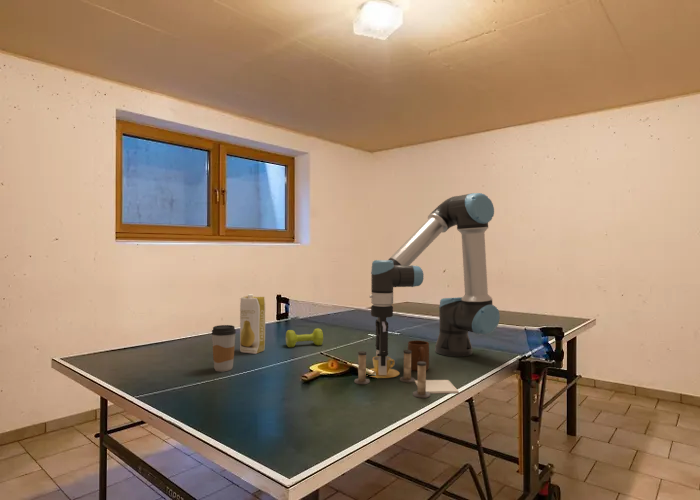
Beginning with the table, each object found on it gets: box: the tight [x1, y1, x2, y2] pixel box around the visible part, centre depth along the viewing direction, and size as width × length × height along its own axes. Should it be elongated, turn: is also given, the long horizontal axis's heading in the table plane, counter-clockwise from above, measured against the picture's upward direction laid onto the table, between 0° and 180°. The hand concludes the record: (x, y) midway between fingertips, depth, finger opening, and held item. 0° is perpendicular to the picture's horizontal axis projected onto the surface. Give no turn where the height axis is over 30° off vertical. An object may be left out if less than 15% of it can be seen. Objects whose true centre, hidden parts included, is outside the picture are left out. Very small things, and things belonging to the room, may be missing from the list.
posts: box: [354, 349, 431, 399], centre depth 132 cm, size 22×20×10 cm
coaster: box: [414, 379, 459, 394], centre depth 133 cm, size 11×11×1 cm
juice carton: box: [239, 293, 266, 355], centre depth 178 cm, size 9×8×24 cm
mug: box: [407, 340, 430, 372], centre depth 152 cm, size 12×8×9 cm, turn 2°
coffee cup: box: [211, 324, 237, 373], centre depth 151 cm, size 8×8×15 cm
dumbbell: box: [285, 327, 324, 348], centre depth 190 cm, size 16×8×7 cm, turn 109°
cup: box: [369, 355, 401, 379], centre depth 147 cm, size 12×12×5 cm
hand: (381, 371), depth 147 cm, fingers closed on cup, 6 cm apart
